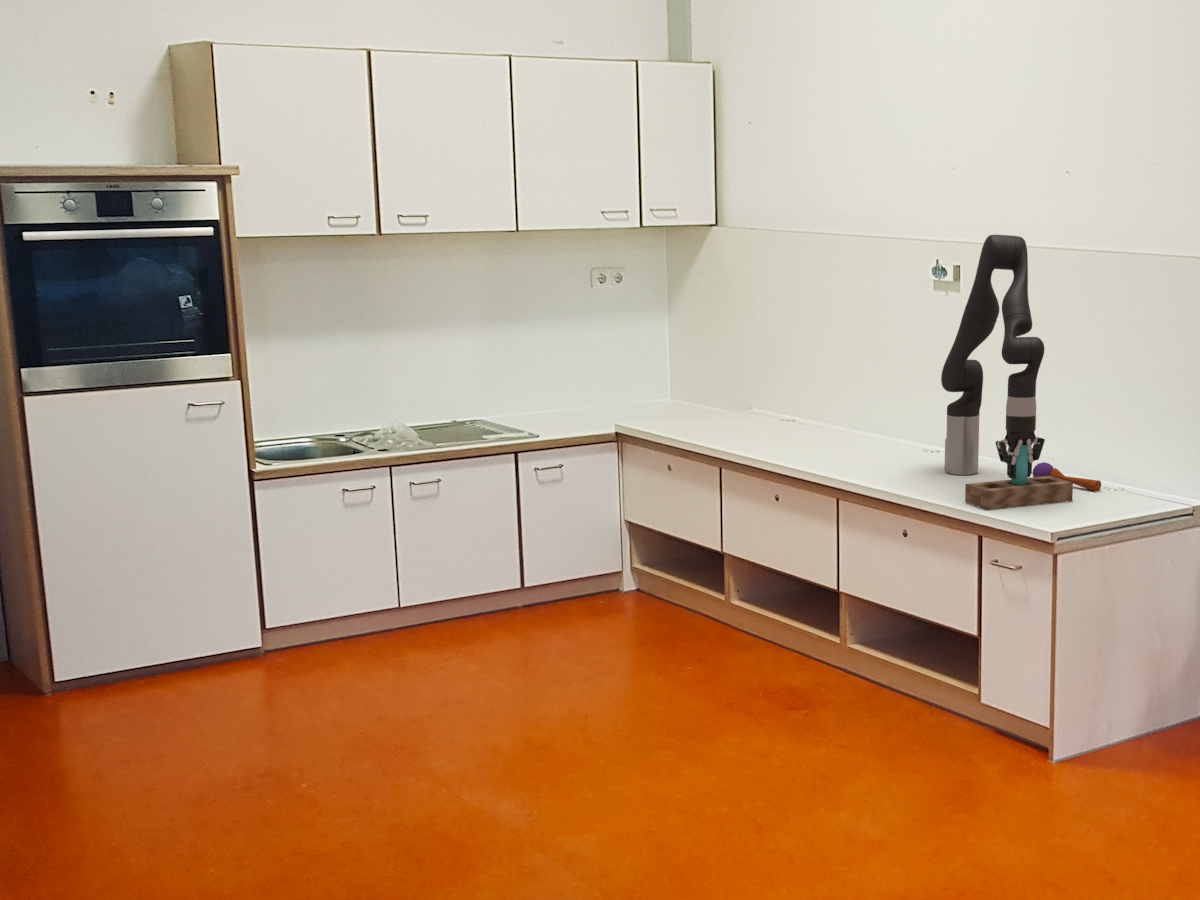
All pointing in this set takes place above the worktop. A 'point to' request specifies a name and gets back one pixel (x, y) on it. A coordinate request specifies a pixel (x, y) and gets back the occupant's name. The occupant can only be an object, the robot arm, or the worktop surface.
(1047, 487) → the bore block
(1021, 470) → the pin
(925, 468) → the worktop surface
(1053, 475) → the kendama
